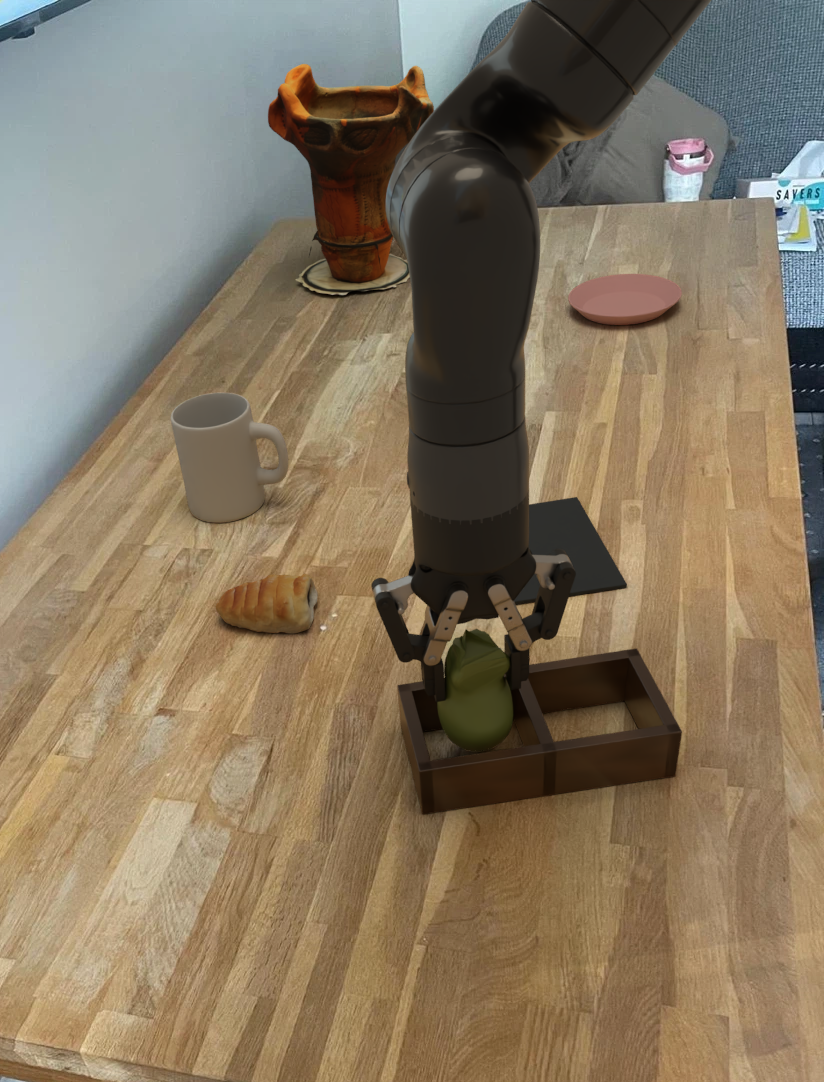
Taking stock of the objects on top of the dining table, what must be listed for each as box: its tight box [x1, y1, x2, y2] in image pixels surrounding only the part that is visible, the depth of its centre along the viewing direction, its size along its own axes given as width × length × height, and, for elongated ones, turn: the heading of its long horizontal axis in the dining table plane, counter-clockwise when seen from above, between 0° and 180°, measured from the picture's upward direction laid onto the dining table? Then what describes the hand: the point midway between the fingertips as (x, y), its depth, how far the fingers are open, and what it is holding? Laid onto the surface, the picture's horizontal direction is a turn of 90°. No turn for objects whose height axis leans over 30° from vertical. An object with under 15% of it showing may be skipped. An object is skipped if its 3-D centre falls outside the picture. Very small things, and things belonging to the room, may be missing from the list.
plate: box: [567, 273, 683, 326], centre depth 144 cm, size 14×14×2 cm
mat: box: [514, 496, 628, 606], centre depth 105 cm, size 16×16×1 cm
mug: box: [170, 391, 289, 524], centre depth 116 cm, size 12×8×11 cm
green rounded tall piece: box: [437, 628, 514, 753], centre depth 81 cm, size 6×5×10 cm
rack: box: [396, 648, 683, 815], centre depth 83 cm, size 19×10×4 cm, turn 95°
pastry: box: [215, 573, 319, 634], centre depth 102 cm, size 9×7×4 cm
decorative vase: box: [267, 63, 435, 296], centre depth 157 cm, size 21×23×28 cm
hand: (475, 687), depth 80 cm, fingers closed on green rounded tall piece, 5 cm apart
